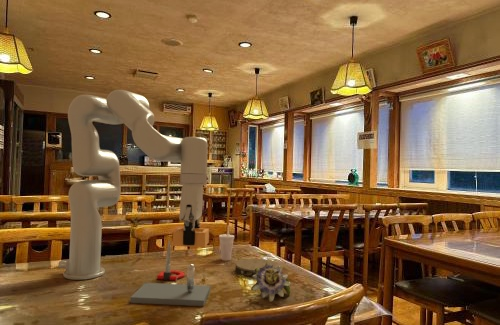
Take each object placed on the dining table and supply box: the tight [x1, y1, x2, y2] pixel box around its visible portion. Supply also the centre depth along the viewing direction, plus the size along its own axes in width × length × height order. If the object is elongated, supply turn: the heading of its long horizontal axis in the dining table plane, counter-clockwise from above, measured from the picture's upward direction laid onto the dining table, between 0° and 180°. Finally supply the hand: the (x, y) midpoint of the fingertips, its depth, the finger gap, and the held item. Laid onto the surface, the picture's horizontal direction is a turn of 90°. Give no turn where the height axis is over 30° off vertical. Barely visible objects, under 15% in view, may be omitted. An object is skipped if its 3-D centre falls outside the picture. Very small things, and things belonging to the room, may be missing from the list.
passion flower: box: [250, 261, 292, 303], centre depth 103 cm, size 11×11×12 cm
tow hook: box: [156, 240, 185, 282], centre depth 119 cm, size 8×13×9 cm
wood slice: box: [235, 258, 280, 279], centre depth 127 cm, size 16×16×3 cm
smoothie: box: [218, 224, 235, 262], centre depth 143 cm, size 6×6×14 cm
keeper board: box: [130, 282, 211, 307], centre depth 100 cm, size 20×12×2 cm, turn 88°
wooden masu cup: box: [172, 227, 210, 248], centre depth 100 cm, size 9×7×4 cm
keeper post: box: [186, 263, 195, 292], centre depth 100 cm, size 2×2×8 cm
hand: (191, 241), depth 100 cm, fingers closed on wooden masu cup, 6 cm apart
